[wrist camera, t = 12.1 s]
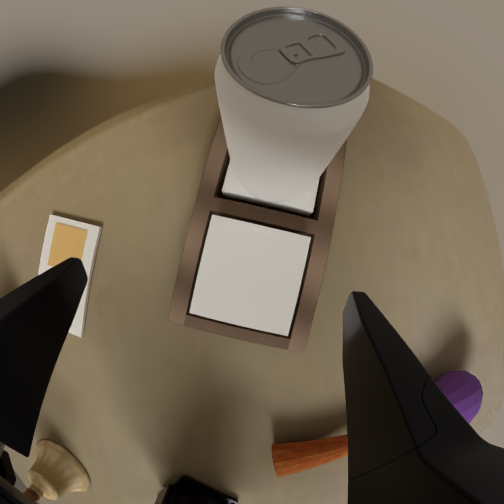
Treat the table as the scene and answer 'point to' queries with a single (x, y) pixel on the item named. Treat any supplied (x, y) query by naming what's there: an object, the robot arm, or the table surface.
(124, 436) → the table surface
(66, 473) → the hand bell
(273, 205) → the outer pad
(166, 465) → the table surface
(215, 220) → the inner pad
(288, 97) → the can
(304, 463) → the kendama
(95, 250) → the pattern card
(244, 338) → the button board
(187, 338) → the table surface
